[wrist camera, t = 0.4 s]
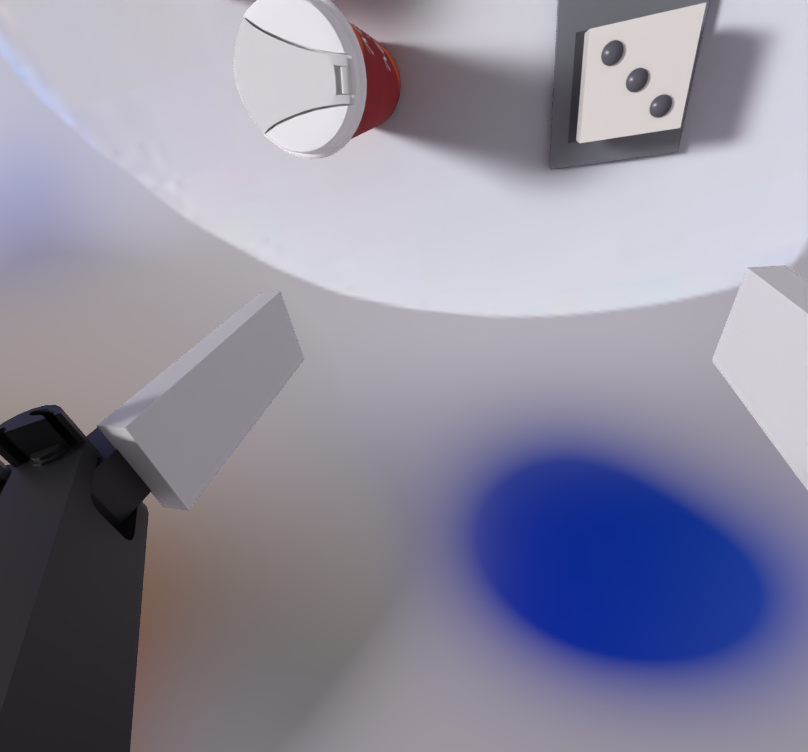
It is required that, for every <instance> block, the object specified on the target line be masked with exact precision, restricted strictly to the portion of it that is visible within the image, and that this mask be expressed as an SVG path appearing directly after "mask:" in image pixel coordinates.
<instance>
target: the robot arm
mask: <svg viewBox="0 0 808 752" xmlns="http://www.w3.org/2000/svg"><path fill="white" fill-rule="evenodd" d="M303 360H304V357H303V354H302V351H301V349H300V346H299V343H298V340H297V337H296V334H295V331H294V329H293V326H292V323H291V320H290V317H289V314H288V312H287V309H286V306H285V303H284V300H283V297H282V294H281V292H280V291H278V292H261V293H259V294H258V295H257V296H256V297H254V298H253V299H252V300H251V301H250V302H248V303H247V304H246V305H245V306H243V307H242V308H241V309H240V310H238V311H237V312H236V313H235V314H234V315H233V316H231V317H230V318H229V319H227V320H226V321H225V322H224V323H222V324H221V325H220V326H219V327H218V328H216V329H215V330H214V331H213V332H211V333H210V334H209V335H208V336H206V337H205V338H204V339H203V340H202V341H200V342H199V343H198V344H197V345H195V346H194V347H193V348H192V349H190V350H189V351H188V352H187V353H186V354H184V355H183V356H182V357H181V358H179V359H178V360H177V361H176V362H174V363H173V364H172V365H171V366H169V367H168V368H167V369H166V370H165V371H163V372H162V373H161V374H160V375H158V376H157V377H156V378H155V379H153V380H152V381H151V382H150V383H149V384H148V385H146V386H145V387H144V388H142V389H141V390H140V391H139V392H138V393H136V394H135V395H134V396H133V397H131V398H130V399H129V400H128V401H127V402H125V403H124V404H123V405H121V406H120V407H119V408H118V409H117V410H115V411H114V412H113V413H112V414H110V415H109V416H108V417H107V418H106V419H104V420H103V421H102V422H101V423H99V424H98V425H97V428H96V429H95V430H94V431H93V432H91V433H90V434H89V435H88V436H87V437H86V436H85V435H84V434H83V433H82V431H81V430H80V429H79V428H78V427H77V426H76V424H75V423H74V422H73V421H72V420H71V419H70V418H69V417H68V415H67V414H66V413H65V412H64V411H63V410H62V408H61V407H59V406H57V405H45V406H41V407H38V408H34V409H31V410H28V411H26V412H24V413H22V414H19V415H17V416H15V417H13V418H11V419H9V420H7V421H6V422H4V423H2V424H1V425H0V455H1V456H2V457H3V458H4V459H5V460H7V461H8V462H9V463H10V464H11V465H5V464H4V463H2V462H1V461H0V752H130V741H131V730H132V717H133V704H134V691H135V679H136V665H137V653H138V640H139V628H140V615H141V601H142V590H143V576H144V564H145V551H146V539H147V526H148V509H147V507H146V506H145V504H144V503H143V502H142V501H143V500H144V499H145V497H146V496H147V495H148V494H149V493H150V492H152V494H153V495H154V496H155V497H156V499H157V500H158V501H159V502H160V503H161V505H162V506H163V507H166V508H174V509H182V510H189V509H190V508H191V507H192V505H193V504H194V503H195V501H196V500H197V499H198V497H199V496H200V495H201V494H202V492H203V491H204V490H205V488H206V487H207V486H208V485H209V483H210V482H211V481H212V479H213V478H214V477H215V475H216V474H217V473H218V471H219V470H220V469H221V467H222V466H223V465H224V464H225V462H226V461H227V460H228V458H229V457H230V455H231V454H232V453H233V452H234V451H235V449H236V448H237V447H238V445H239V444H240V443H241V441H242V440H243V439H244V438H245V436H246V435H247V434H248V432H249V431H250V430H251V428H252V427H253V426H254V424H255V423H256V422H257V421H258V419H259V418H260V417H261V415H262V414H263V413H264V411H265V410H266V409H267V407H268V406H269V405H270V403H271V402H272V401H273V399H274V398H275V397H276V395H277V394H278V393H279V392H280V391H281V389H282V388H283V387H284V385H285V384H286V383H287V381H288V380H289V379H290V377H291V376H292V375H293V373H294V372H295V371H296V370H297V368H298V367H299V366H300V364H301V363H302V362H303ZM712 361H713V363H714V364H715V365H716V367H717V368H718V369H719V371H720V372H721V373H722V375H723V376H724V378H725V379H726V380H727V382H728V383H729V384H730V386H731V387H732V388H733V390H734V391H735V392H736V394H737V395H738V397H739V398H740V399H741V401H742V402H743V403H744V405H745V406H746V407H747V409H748V410H749V411H750V413H751V414H752V416H753V417H754V418H755V420H756V421H757V422H758V424H759V425H760V427H761V428H762V429H763V430H764V432H765V433H766V435H767V436H768V437H769V439H770V440H771V441H772V443H773V444H774V446H775V447H776V448H777V450H778V451H779V452H780V454H781V455H782V456H783V458H784V459H785V460H786V462H787V463H788V464H789V466H790V467H791V469H792V470H793V471H794V473H795V474H796V475H797V477H798V478H799V480H800V481H801V482H802V484H803V485H804V486H805V488H806V489H807V490H808V280H807V279H805V278H804V277H802V276H801V275H799V274H797V273H796V272H794V271H793V270H791V269H790V268H788V267H787V266H770V267H750V268H747V270H746V273H745V275H744V278H743V280H742V283H741V286H740V288H739V291H738V293H737V296H736V299H735V301H734V304H733V307H732V309H731V312H730V315H729V317H728V320H727V323H726V325H725V328H724V330H723V333H722V335H721V338H720V341H719V343H718V346H717V349H716V351H715V354H714V357H713V359H712Z"/></svg>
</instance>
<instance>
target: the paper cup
mask: <svg viewBox="0 0 808 752" xmlns="http://www.w3.org/2000/svg"><path fill="white" fill-rule="evenodd" d="M244 17H245V18H243V19H242V22H241V25H240V28H239V31H238V34H237V38H236V42H235V49H234V59H233V69H234V76H235V81H236V86H237V89H238V92H239V95H240V98H241V100H242V101H243V103H244V105H245V107H246V109H247V111H248V113H249V115H250V116H251V118H252V119H253V120H254V122H255V123H256V125H257V126H258V127H259V129H260V130H261V131H262V132H263V134H265V136H266V137H267V138H268V139H269V140H271V141H272V142H273V143H274V144H276V145H277V146H278V147H280V148H281V149H282V150H284V151H286V152H288V153H290V154H292V155H294V156H298V157H301V158H307V159H319V158H323V157H327V156H330V155H332V154H334V153H336V152H337V151H339V150H340V149H341V148H343V147H344V146H345V145H346V144H347V143H348V142H349V140H350V139H352V138H354V137H356V136H358V135H360V134H362V133H364V132H366V131H368V130H370V129H372V128H374V127H376V126H378V125H379V124H381V123H383V122H384V121H385V120H386V119H388V118H389V117H390V115H391V114H392V113H393V111H394V110H395V108H396V105H397V103H398V100H399V96H400V76H399V71H398V68H397V65H396V63H395V61H394V59H393V57H392V56H391V54H390V53H389V52H388V51H387V50H386V49H385V48H384V47H383V46H382V45H381V44H380V43H378V42H377V41H376V40H374V39H373V38H372V37H370V36H369V35H367V34H366V33H365V32H363V31H362V30H360V29H359V28H358V27H356V26H355V25H353V24H352V23H350V22H349V21H348V20H347V19H346V17H345V16H344V14H343V13H342V12H341V11H340V10H339V8H338V7H337V6H336V5H335V4H334V3H333V2H332V1H331V0H256V1H255V2H254V3H253V4H252V5H251V6H250V7H249V9H248V10H247V11H246V12H245V14H244Z"/></svg>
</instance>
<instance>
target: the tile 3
mask: <svg viewBox="0 0 808 752" xmlns="http://www.w3.org/2000/svg"><path fill="white" fill-rule="evenodd" d="M705 7H706V3H701V4H697V5H692V6H688V7H684V8H679V9H675V10H670V11H666V12H662V13H657V14H653V15H649V16H644V17H640V18H635V19H631V20H627V21H622V22H618V23H613V24H609V25H605V26H600V27H596V28H591V29H589V30H588V31H587V32H585V36H584V49H583V61H582V73H581V86H580V98H579V111H578V123H577V135H576V141H577V142H579V143H585V142H592V141H598V140H605V139H611V138H618V137H624V136H631V135H637V134H644V133H650V132H657V131H663V130H670V129H677V128H680V127H681V122H682V117H683V112H684V108H685V103H686V98H687V93H688V88H689V84H690V79H691V74H692V69H693V64H694V60H695V55H696V50H697V45H698V40H699V36H700V31H701V26H702V21H703V16H704V12H705Z"/></svg>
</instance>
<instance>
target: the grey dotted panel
mask: <svg viewBox="0 0 808 752" xmlns="http://www.w3.org/2000/svg"><path fill="white" fill-rule="evenodd" d="M709 1H710V0H558V9H557V29H556V49H555V70H554V90H553V110H552V131H551V151H550V170H551V169H558V168H565V167H572V166H579V165H587V164H594V163H601V162H608V161H616V160H623V159H630V158H637V157H644V156H652V155H659V154H666V153H673V152H678V147H679V143H680V138H681V133H682V128H683V124H684V119H685V114H686V109H687V105H688V100H689V95H690V91H691V86H692V81H693V76H694V72H695V67H696V62H697V57H698V53H699V48H700V43H701V38H702V34H703V29H704V24H705V20H706V15H707V10H708V5H709ZM701 3H706V7H705V12H704V16H703V21H702V26H701V31H700V36H699V40H698V45H697V50H696V55H695V60H694V64H693V69H692V74H691V79H690V84H689V88H688V93H687V98H686V103H685V108H684V112H683V117H682V122H681V127H680V128H677V129H670V130H663V131H657V132H650V133H644V134H637V135H631V136H624V137H618V138H611V139H605V140H598V141H592V142H585V143H579V142H577V141H576V135H577V123H578V111H579V98H580V86H581V73H582V61H583V49H584V36H585V32H587V31H588V30H589V29H591V28H596V27H600V26H605V25H609V24H613V23H618V22H622V21H627V20H631V19H635V18H640V17H644V16H649V15H653V14H657V13H662V12H666V11H670V10H675V9H679V8H684V7H688V6H692V5H697V4H701Z"/></svg>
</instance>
